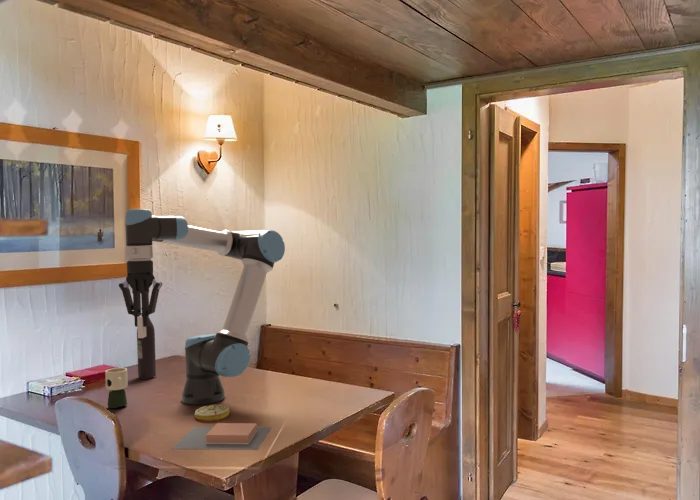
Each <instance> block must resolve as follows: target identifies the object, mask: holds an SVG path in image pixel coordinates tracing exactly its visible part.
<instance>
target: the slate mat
mask: <svg viewBox="0 0 700 500" xmlns="http://www.w3.org/2000/svg"><path fill="white" fill-rule="evenodd" d="M213 427H214V426H193V427H192V428H191V429H190V430H189V431H188V432H187V433H186V434H185V435H184V436H183V437H182V438H181V439H180V440H179V441H178V442H177V443H175V445H174V446H173V447H172V448H171V450H223V451H224V450H237V451H239V450H240V451H241V450H242V451H247V450H249V451H253V450H254V451H257V450H258V451H259V448H260V447H261V445H262V443H263V442H264V440H265V439H266V437H267V435H268V434H269V432H270V431H271V429H272V426H269V427H268V426H257V432H256V434H255V435H254V437H253V438H252V439H251V441H250V442H249V444H206V434H207V433H208V432H209V431H210V430H211V429H212V428H213Z"/></svg>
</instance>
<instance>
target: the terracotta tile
mask: <svg viewBox="0 0 700 500" xmlns="http://www.w3.org/2000/svg"><path fill="white" fill-rule="evenodd" d="M212 427H213V428H212V429H211V430H210V431H209V432H208V433H207V434H206V444H249V442H250V441H251V439H252V438H253V437H254V435H255V434H256V432H257V427H258V425H257V423H254V422H251V423H250V422H248V423H247V422H246V423H245V422H242V423H241V422H240V423H239V422H238V423H236V422H234V423H233V422H231V423H230V422H227V423H226V422H223V423H222V422H217V423H215V425H214V426H212Z"/></svg>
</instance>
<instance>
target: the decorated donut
mask: <svg viewBox="0 0 700 500" xmlns="http://www.w3.org/2000/svg"><path fill="white" fill-rule="evenodd" d="M229 414H230V408H229V406H227V405H225V404H215V403H213V404H206V405H204V406H201V407H199V408H196V409H195V412H194V417H195V419H196V420H198V421H201V422H216V421H222V420H223V419H226V418H228V417H229Z"/></svg>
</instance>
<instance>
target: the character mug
mask: <svg viewBox="0 0 700 500" xmlns="http://www.w3.org/2000/svg"><path fill="white" fill-rule="evenodd" d="M104 373H105V374H104V375H105V389H106V390H108V391H109V392H108V397H107V407H108V408H109V407H110V408H109V409H116V408H118V407H119V408H120V407H125V406H127V405H128V399H127V398H128V397H127V395H126V394H127V393H126V390H125V389H127V388H128V386H129V385H128V384H129V383H128V368H126V367H115V368H110V369H106V370H105V371H104ZM113 407H114V408H113Z"/></svg>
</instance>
